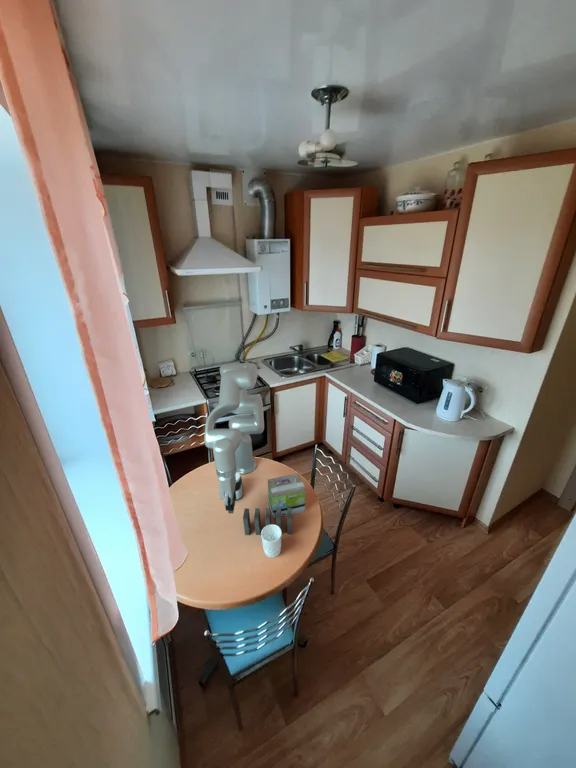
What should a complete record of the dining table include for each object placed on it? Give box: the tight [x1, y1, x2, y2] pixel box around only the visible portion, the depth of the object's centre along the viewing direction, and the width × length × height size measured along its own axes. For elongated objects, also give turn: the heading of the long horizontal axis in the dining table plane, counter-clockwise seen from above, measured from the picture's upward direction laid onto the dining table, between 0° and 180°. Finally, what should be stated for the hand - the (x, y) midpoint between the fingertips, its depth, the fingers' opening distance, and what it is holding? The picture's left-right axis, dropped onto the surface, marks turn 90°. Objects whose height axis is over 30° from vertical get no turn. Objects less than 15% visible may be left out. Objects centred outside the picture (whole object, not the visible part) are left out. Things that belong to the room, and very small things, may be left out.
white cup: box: [260, 523, 282, 559], centre depth 123 cm, size 8×8×10 cm
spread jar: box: [235, 472, 244, 501], centre depth 150 cm, size 12×11×12 cm
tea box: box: [267, 473, 306, 519], centre depth 141 cm, size 15×10×15 cm, turn 105°
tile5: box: [286, 508, 293, 536], centre depth 131 cm, size 5×2×10 cm, turn 0°
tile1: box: [242, 507, 252, 536], centre depth 131 cm, size 5×2×10 cm, turn 0°
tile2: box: [253, 507, 262, 536], centre depth 131 cm, size 5×2×10 cm, turn 0°
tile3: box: [264, 507, 272, 526], centre depth 131 cm, size 5×2×10 cm, turn 0°
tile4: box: [275, 508, 283, 532], centre depth 131 cm, size 5×2×10 cm, turn 0°
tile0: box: [227, 495, 236, 514], centre depth 126 cm, size 5×2×10 cm, turn 0°
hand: (231, 504), depth 127 cm, fingers closed on tile0, 4 cm apart
